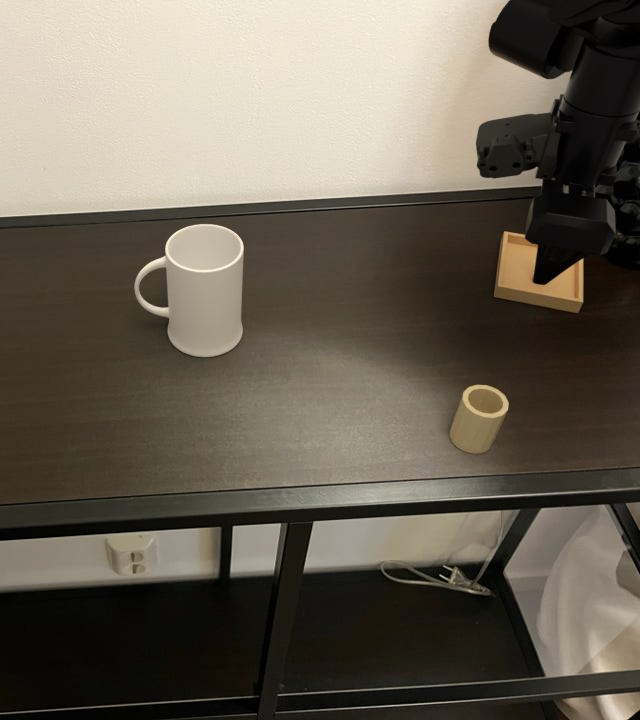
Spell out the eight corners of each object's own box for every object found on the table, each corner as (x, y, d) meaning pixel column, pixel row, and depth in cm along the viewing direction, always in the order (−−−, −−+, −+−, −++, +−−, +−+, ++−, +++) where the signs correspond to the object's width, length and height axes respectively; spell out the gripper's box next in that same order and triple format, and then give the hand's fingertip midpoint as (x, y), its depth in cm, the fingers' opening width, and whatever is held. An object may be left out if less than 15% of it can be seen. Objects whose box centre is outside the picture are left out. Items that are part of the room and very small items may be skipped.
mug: (136, 357, 83) (127, 273, 74) (142, 305, 89) (135, 222, 80) (243, 358, 82) (247, 273, 73) (242, 306, 88) (245, 222, 79)
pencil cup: (493, 427, 74) (509, 390, 70) (490, 458, 71) (507, 422, 67) (451, 417, 75) (465, 380, 71) (446, 447, 72) (460, 411, 68)
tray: (500, 242, 94) (504, 231, 92) (578, 255, 91) (583, 244, 90) (493, 297, 87) (497, 286, 85) (577, 313, 84) (583, 302, 83)
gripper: (504, 42, 69) (463, 188, 80) (487, 142, 57) (441, 297, 68) (639, 55, 65) (576, 205, 77) (650, 165, 53) (574, 324, 65)
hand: (540, 253), depth 71 cm, fingers open, 9 cm apart
